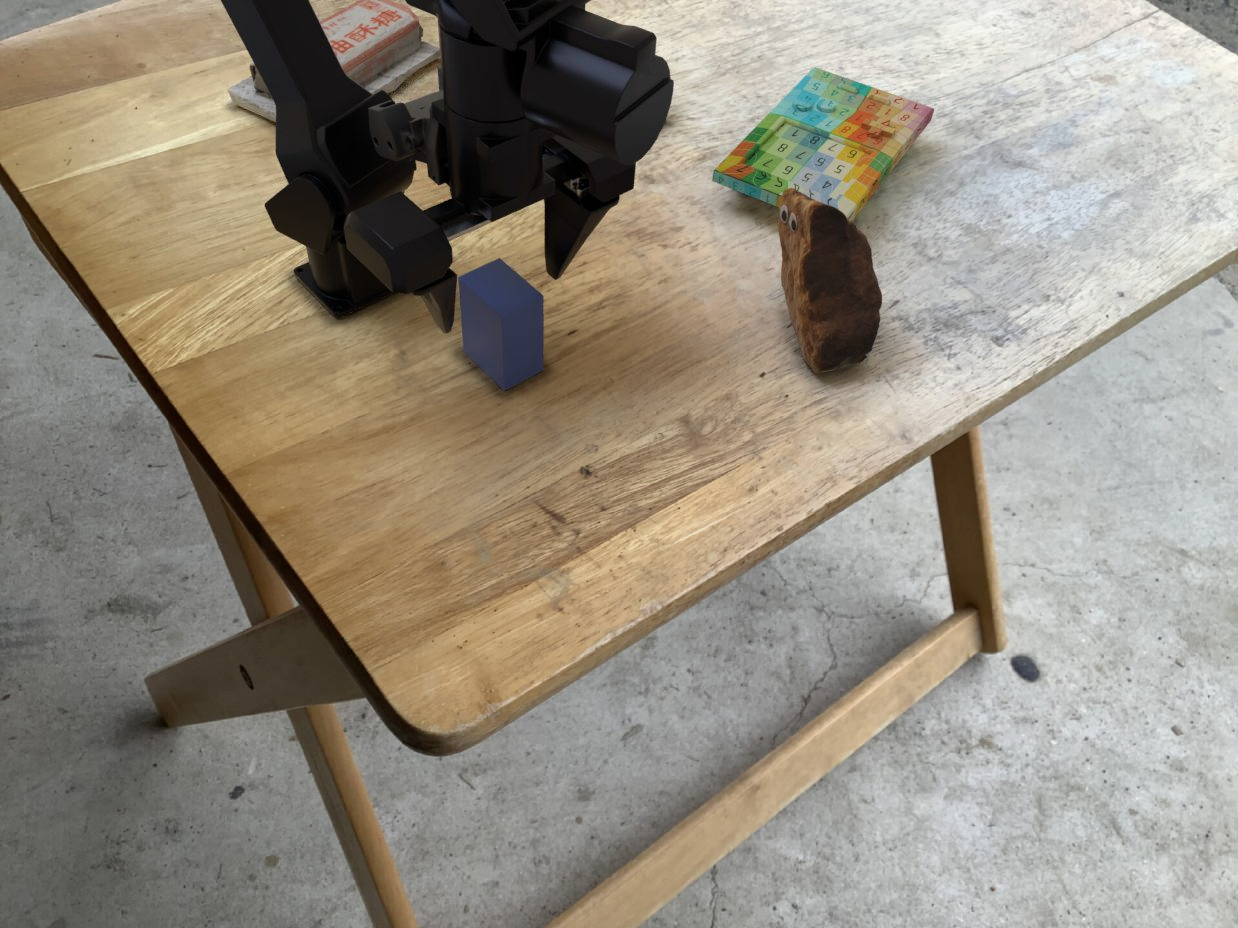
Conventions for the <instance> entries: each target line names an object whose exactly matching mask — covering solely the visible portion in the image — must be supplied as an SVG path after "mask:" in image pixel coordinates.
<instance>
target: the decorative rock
mask: <svg viewBox="0 0 1238 928" xmlns="http://www.w3.org/2000/svg"><path fill="white" fill-rule="evenodd" d="M855 223H856V222H854V220H849V219H848V218H847V217H846V215H845V214H844V213H843V212H841V211H840V210H839V209H837V208H835V207H833V206H830V205H827V204H824V203H821V202H818V201H815V200H812V199H811V198H809V197H808V196H806V195H805V194H803V193H801V192H799V191H797V190H795V189H794V188H789V189H786V190H784V191H783V193H782V197H781V203H780V208H779V215H778V221H777V229H778V231H777V232H778V235H779V242H780V247H781V266H780V281H781V287H782V289H783V290H782V291H783V292H784V297H785V303H786V307H787V309H788V313H789V317H790V323H791V325H792V327H793V329H794V331H795V333H796V338H797V342H798V346H799V347H800V351H801V353H800V354H801V356H802V357H803V360H804V361H805V363H806V364H807V365H808V366H809V368H810V369H811V370H812V371H813V373H814V374H816V375H818V374H823V373H827V372H833V371H836V370H840V369H843V368H847V367H851V366H854V365H857V364H858V365H860V364H861V363H862V362H864V361H866V360H867V358H868V356H867V355H868V354H870V353H871V352H872V351H873V348H874V344H875V342H876V339H877V336H878V332H879V329H880V324H881V313H880V310H881V308H882V305H883V294H882V290H881V288H880V285H879V280H878V277H877V275H876V271H875V269H874V261H873V254H872V247H871V245H870V243H869V240H868V237H867V235H866V234H865V233H864V232H863V231H861V230H860V229H859V228H858V227H857V225H856V224H855Z"/></svg>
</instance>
